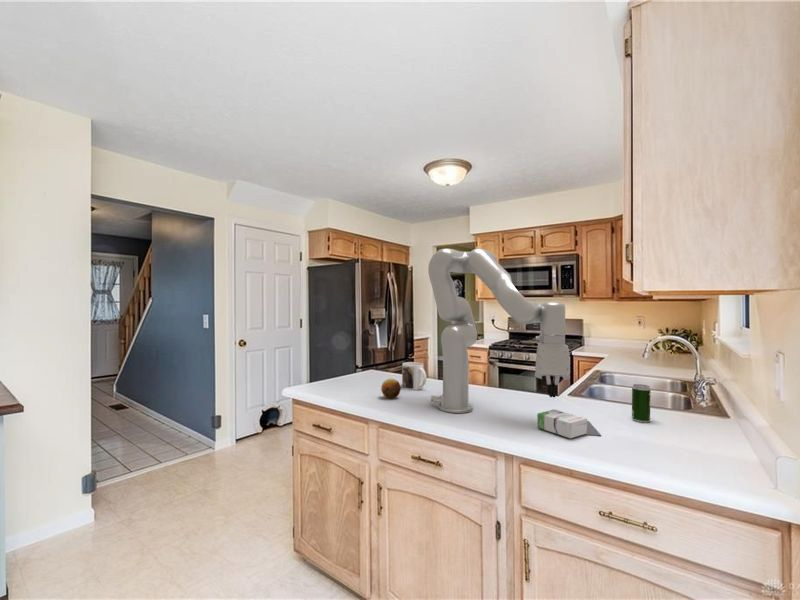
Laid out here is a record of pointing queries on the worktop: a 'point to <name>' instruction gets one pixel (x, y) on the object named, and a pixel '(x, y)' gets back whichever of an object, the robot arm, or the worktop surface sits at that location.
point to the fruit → (391, 388)
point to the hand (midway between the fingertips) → (551, 396)
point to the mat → (591, 430)
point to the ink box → (562, 423)
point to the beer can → (641, 403)
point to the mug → (413, 376)
